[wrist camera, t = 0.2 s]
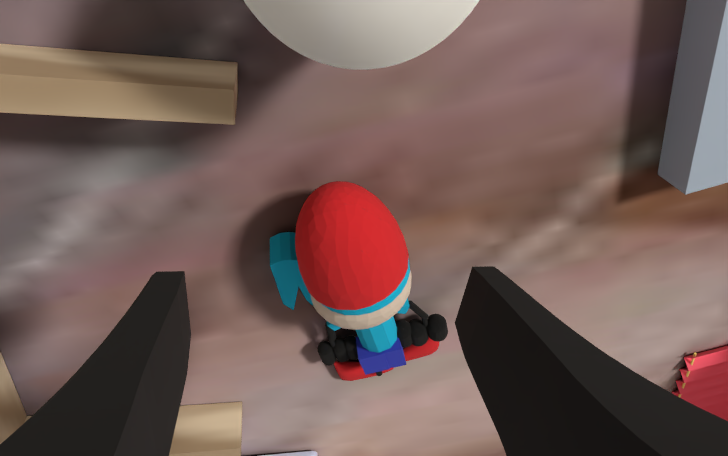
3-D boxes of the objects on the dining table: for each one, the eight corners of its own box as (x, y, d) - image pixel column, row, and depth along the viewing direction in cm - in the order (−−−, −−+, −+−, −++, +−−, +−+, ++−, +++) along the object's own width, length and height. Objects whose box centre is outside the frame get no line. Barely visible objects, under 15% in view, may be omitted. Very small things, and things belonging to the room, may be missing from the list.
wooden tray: (242, 414, 30) (240, 460, 28) (8, 430, 27) (-17, 483, 25) (237, 62, 18) (234, 89, 16) (-177, 29, 16) (-257, 57, 13)
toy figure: (441, 321, 31) (407, 132, 20) (463, 394, 28) (435, 214, 17) (327, 348, 32) (233, 177, 21) (334, 423, 28) (226, 265, 17)
